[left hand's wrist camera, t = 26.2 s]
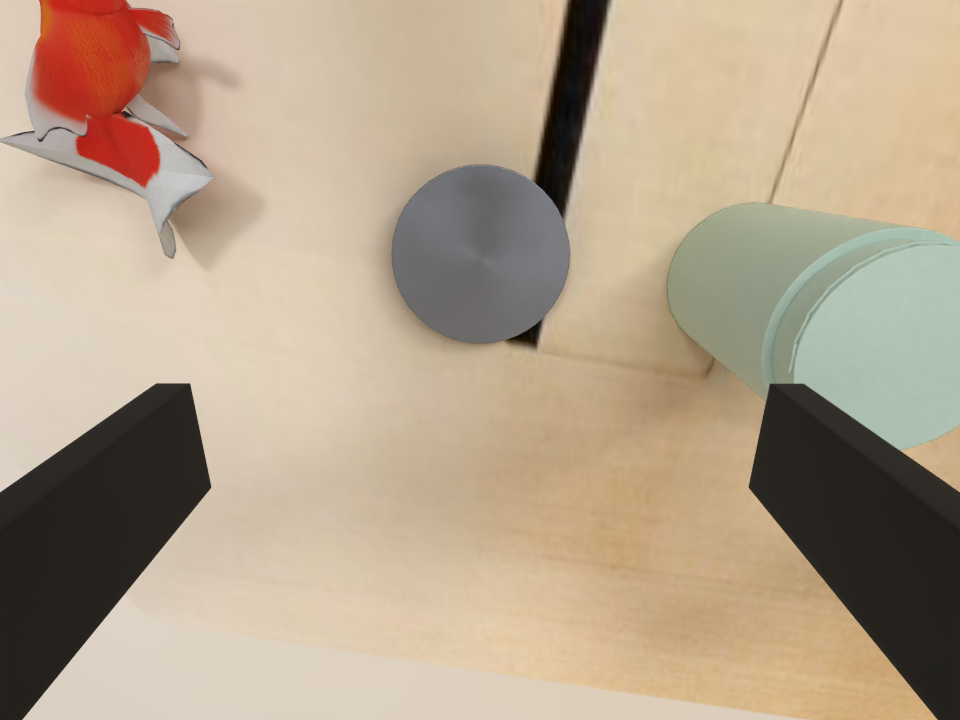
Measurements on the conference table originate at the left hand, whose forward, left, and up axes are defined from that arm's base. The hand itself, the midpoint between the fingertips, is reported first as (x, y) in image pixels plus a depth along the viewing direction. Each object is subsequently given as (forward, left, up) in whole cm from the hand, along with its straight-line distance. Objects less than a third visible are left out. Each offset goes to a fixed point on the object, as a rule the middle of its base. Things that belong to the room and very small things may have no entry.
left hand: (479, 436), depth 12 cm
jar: (+14, +12, -26) cm, 32 cm away
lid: (0, 0, -24) cm, 24 cm away
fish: (-19, -9, -26) cm, 33 cm away
